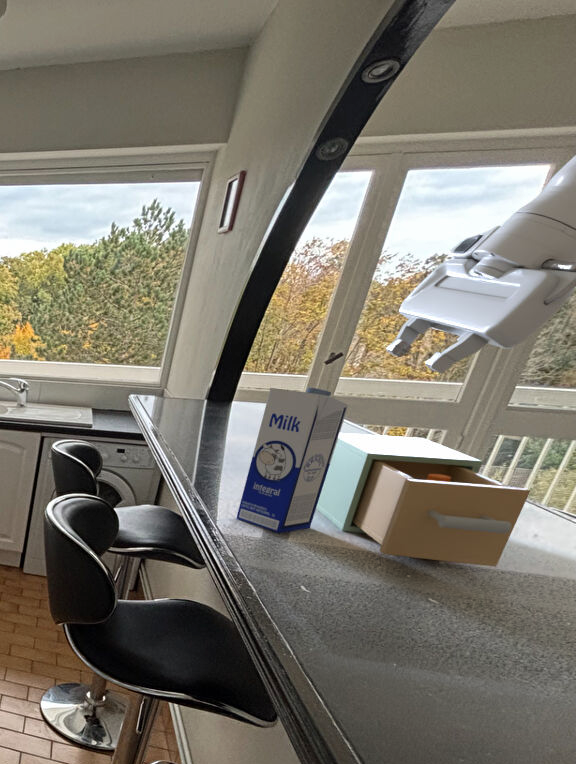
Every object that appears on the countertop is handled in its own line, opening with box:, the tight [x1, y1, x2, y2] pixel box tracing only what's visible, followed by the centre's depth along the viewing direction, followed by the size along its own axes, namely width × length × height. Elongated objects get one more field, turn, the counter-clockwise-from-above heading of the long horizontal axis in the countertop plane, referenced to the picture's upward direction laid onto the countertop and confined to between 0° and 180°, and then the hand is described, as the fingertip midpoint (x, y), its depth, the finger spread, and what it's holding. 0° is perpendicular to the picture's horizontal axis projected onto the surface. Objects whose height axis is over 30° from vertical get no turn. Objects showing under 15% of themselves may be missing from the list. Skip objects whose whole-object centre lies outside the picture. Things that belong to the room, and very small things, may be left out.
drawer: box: [352, 459, 531, 568], centre depth 77 cm, size 19×11×10 cm, turn 160°
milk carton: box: [236, 387, 350, 534], centre depth 85 cm, size 7×7×20 cm
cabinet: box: [316, 432, 483, 534], centre depth 89 cm, size 16×13×12 cm
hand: (411, 361), depth 76 cm, fingers open, 8 cm apart
